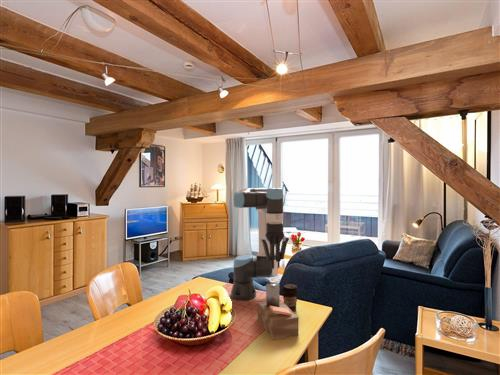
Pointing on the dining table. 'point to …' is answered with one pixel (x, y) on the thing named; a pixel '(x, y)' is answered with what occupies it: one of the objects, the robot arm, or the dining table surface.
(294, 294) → the coffee cup
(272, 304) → the pin
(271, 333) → the hitch block
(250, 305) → the dining table surface
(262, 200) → the robot arm
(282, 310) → the keeper
